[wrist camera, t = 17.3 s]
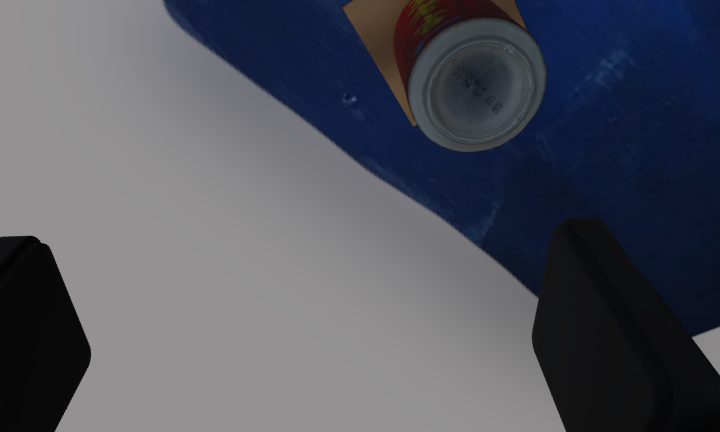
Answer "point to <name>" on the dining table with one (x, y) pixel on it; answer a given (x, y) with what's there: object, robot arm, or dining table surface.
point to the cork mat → (376, 29)
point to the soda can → (468, 72)
